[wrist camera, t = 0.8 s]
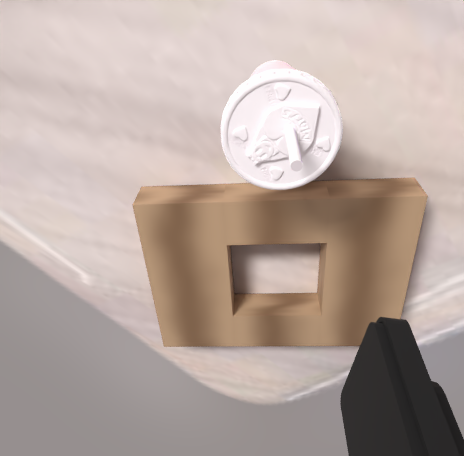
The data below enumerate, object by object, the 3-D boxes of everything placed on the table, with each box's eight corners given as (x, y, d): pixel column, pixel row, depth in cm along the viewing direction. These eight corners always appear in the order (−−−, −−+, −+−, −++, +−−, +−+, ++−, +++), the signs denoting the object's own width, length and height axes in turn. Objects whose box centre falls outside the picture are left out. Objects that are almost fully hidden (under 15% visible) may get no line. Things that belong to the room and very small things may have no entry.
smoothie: (337, 92, 29) (391, 181, 18) (267, 147, 32) (273, 257, 20) (282, 16, 27) (302, 62, 15) (210, 82, 29) (181, 165, 18)
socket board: (414, 177, 33) (427, 196, 30) (386, 322, 41) (394, 345, 39) (141, 186, 34) (132, 204, 32) (169, 323, 43) (163, 346, 41)
